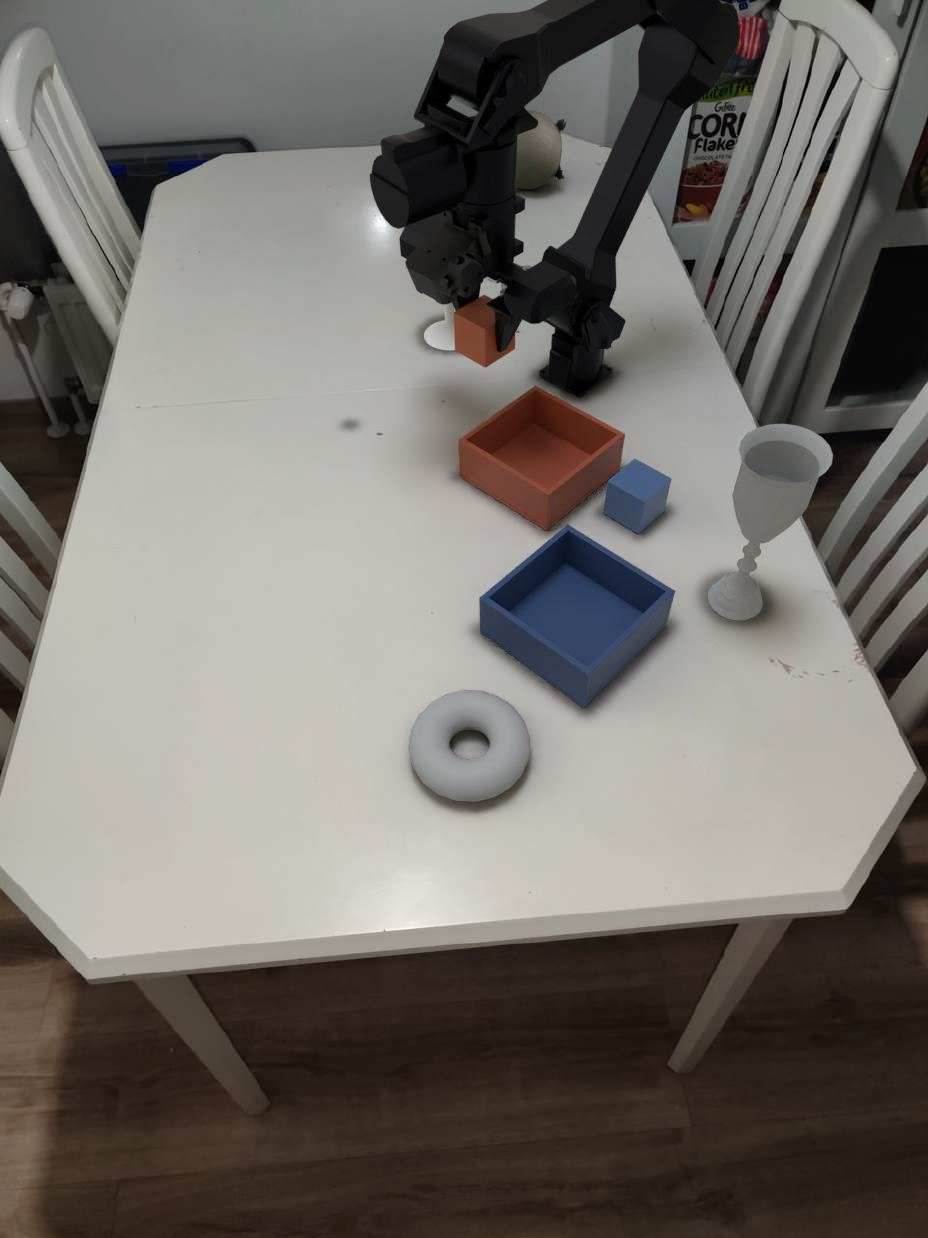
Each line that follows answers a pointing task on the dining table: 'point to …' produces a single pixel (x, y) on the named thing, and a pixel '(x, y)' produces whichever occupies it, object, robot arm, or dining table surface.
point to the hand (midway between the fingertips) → (485, 341)
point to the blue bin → (575, 613)
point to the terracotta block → (478, 333)
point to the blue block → (636, 495)
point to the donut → (464, 774)
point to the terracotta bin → (540, 456)
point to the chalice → (768, 504)
